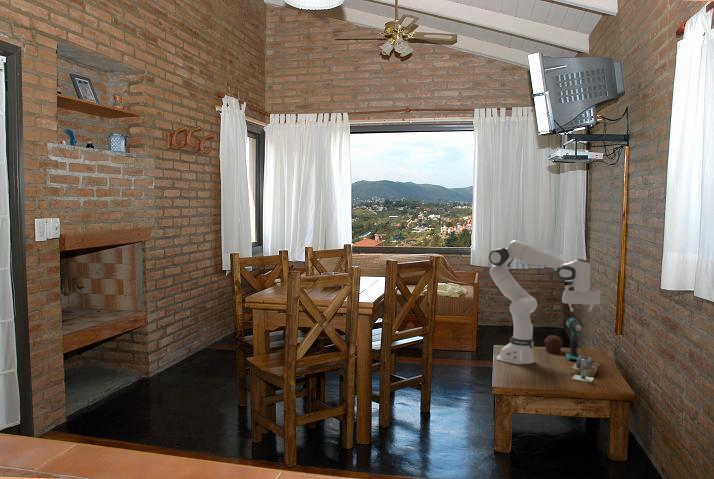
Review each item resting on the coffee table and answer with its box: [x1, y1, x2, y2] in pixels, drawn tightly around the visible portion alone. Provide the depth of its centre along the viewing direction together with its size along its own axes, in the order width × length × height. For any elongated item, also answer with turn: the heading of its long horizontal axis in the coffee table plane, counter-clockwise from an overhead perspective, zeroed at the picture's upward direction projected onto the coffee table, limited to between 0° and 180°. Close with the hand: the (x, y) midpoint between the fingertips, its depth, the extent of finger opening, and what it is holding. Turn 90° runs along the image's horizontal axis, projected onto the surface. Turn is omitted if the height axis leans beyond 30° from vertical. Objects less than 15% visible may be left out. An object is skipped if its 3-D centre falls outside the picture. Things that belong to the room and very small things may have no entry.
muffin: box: [543, 334, 564, 354], centre depth 365 cm, size 12×11×10 cm
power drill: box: [564, 317, 584, 361], centre depth 344 cm, size 26×9×25 cm, turn 168°
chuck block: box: [570, 355, 600, 378], centre depth 319 cm, size 14×12×8 cm
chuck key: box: [580, 359, 587, 379], centre depth 307 cm, size 8×3×10 cm, turn 168°
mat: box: [571, 374, 595, 383], centre depth 308 cm, size 10×8×1 cm
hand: (580, 311), depth 321 cm, fingers open, 8 cm apart
